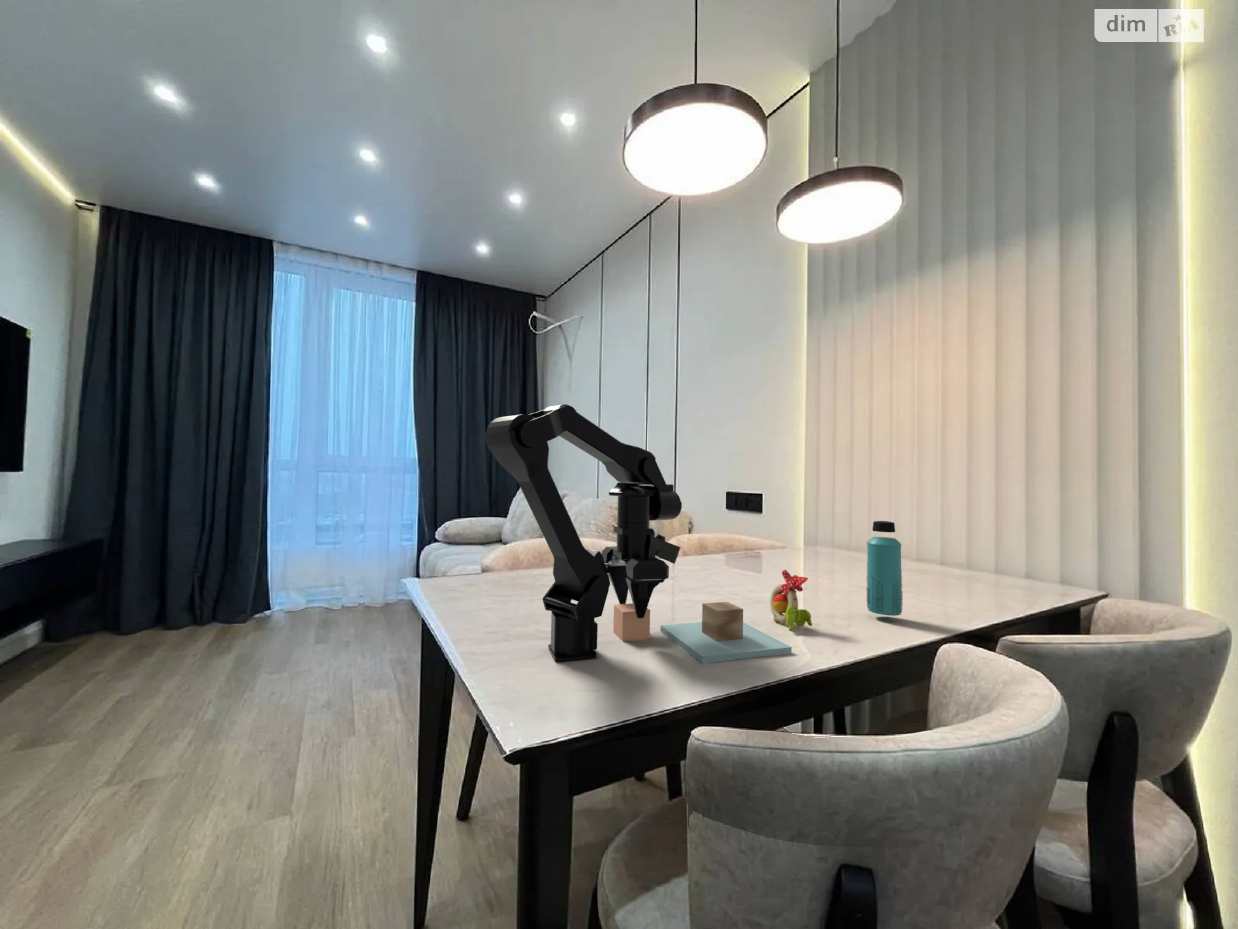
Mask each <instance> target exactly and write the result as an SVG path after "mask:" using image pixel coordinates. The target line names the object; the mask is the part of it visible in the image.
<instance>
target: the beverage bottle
mask: <svg viewBox="0 0 1238 929" xmlns="http://www.w3.org/2000/svg"><path fill="white" fill-rule="evenodd" d="M872 531H873V532H877V533H879V532H880V533H896V526H895V522H893V521H887V520H875V521H873V522H872ZM866 545H867V548H866V549H867V551H866V552H867V554H866V555H867V557H866V561H867V562H866V574H867V575H866V581H865V582H866V585H867V586H866V607H867V609H868V611H869V612H871V613H873V614H876V615H877V614H878V615H881V616H890V617H891V616H892V617H893V616H894V617H895V616H896V617H897V616H901V615H902V612H903V600H904V599H903V575H902V574H903V571H902V543H901V542H900V541H899V540H898V539H896V538H894V537H886V536H873V537H871V538H870V539H868V541H867V542H866Z"/></svg>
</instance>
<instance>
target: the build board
mask: <svg viewBox="0 0 1238 929" xmlns="http://www.w3.org/2000/svg"><path fill="white" fill-rule="evenodd" d="M659 627H660V628H659V629H660V630H659V631H660V632H661V633H662V634H664V635H665V636H666V637H668V639H670V640H672V641H673V642H674V643H675V644H677V645H678V646H679V647H680V648H682V649H683V650H685V651H686V652H687V653H689V654H690V655H691V656H692V657H694V658H695V659H696V660H697V661H699V662H700V663H701V664H707V663H718V662H723V661H724V662H725V661H733V660H745V659H753V658H763V657H771V656H779V654H782V655H790V654H792V646H790V645H788V644H786V643H784V642H783V641H780V640H778V639H777V638H775V637H773V636H771V635H769V634H767V633H766V632H763V631H760V630H759V629H757V628H756V627H753V626H751V625H750V624H747V623H746V622H744V621H743V639H738V640H728V641H717V642H716V641H715V640H713V639H712V638H710V637H709V636H707V635H705V634H704V633H702V621H699V622H688V623H687V622H685V623H674V624H661V625H660V626H659Z"/></svg>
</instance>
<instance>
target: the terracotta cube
mask: <svg viewBox="0 0 1238 929" xmlns="http://www.w3.org/2000/svg"><path fill="white" fill-rule="evenodd" d="M612 627H613V628H612V630H613V634H615V636H616V637H619V638H618V639H619V641H621V640H622V641H621V642H629V641H628V640H632V641H640V640H641V641H642V640H650V636H651V633H650V632H651V631H650V630H651V610H650V609H649V608H648V607H647V610H646V613H645V616H644V618H637V615H636V612H635V609H634V606H633V602H632V603H626V604H620V603H619V604H614V605H613V626H612Z"/></svg>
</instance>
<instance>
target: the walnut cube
mask: <svg viewBox="0 0 1238 929" xmlns="http://www.w3.org/2000/svg"><path fill="white" fill-rule="evenodd" d="M701 613H702V614H701V622H702V633H704V634H705V635H707V636H709V637H710V638H712V639H713V640H715V641H716V642H717V641H728V640H738V639H743V622H744V608H742V607H739V606H738V605H735V604H733V603H731V602H729V601H719V602H718V601H717V602H705V603H704V602H703V603H702V610H701Z"/></svg>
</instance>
